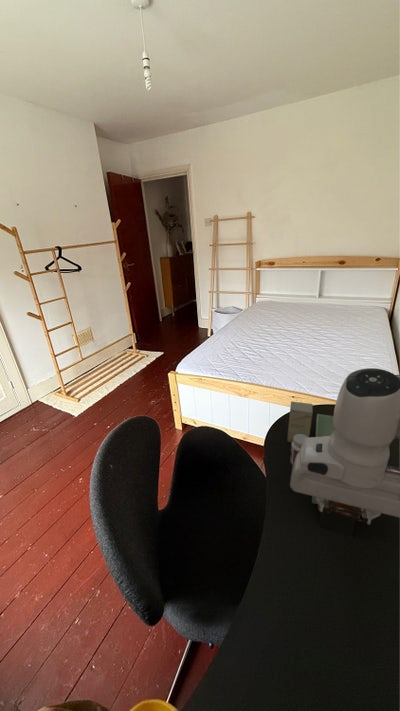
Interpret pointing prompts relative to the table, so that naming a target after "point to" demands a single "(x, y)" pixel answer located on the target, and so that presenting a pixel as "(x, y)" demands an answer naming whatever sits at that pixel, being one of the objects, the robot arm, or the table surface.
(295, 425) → the cosmetic box
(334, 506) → the open cardboard crate
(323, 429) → the tray
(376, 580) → the table surface
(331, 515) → the cradle
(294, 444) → the pill bottle
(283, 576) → the table surface
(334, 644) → the table surface
